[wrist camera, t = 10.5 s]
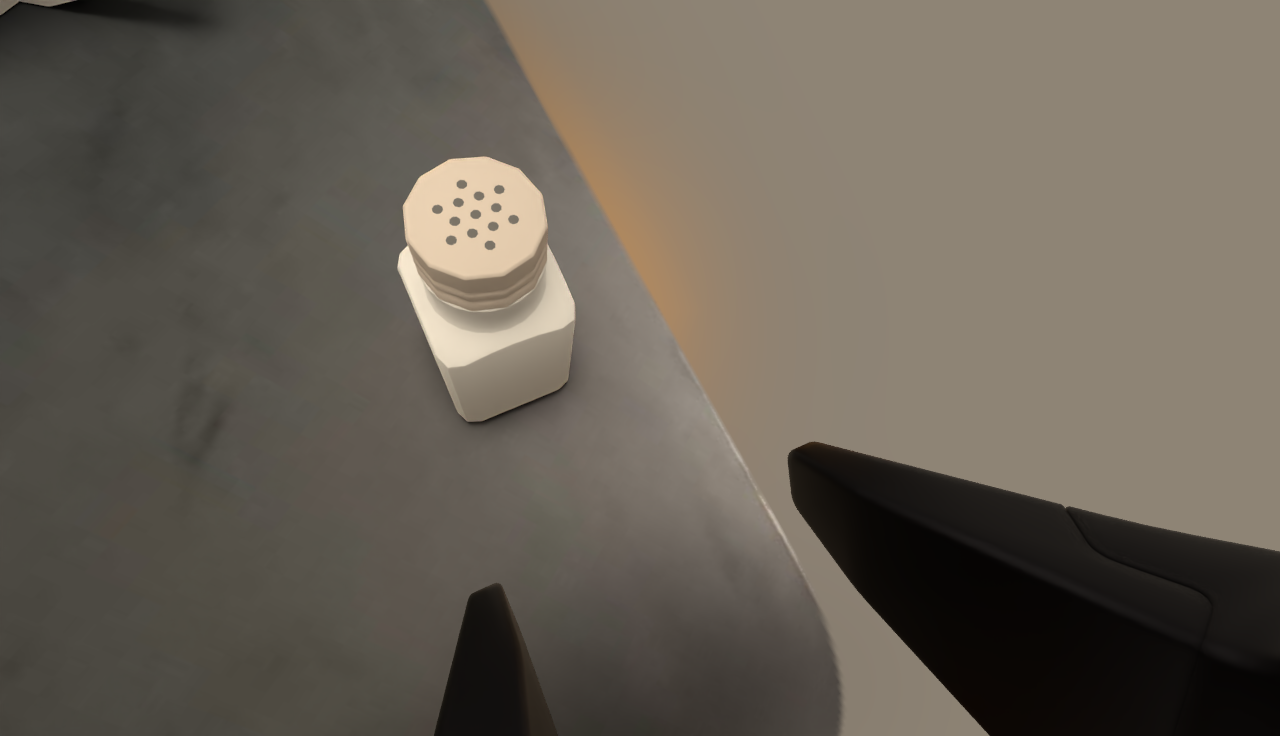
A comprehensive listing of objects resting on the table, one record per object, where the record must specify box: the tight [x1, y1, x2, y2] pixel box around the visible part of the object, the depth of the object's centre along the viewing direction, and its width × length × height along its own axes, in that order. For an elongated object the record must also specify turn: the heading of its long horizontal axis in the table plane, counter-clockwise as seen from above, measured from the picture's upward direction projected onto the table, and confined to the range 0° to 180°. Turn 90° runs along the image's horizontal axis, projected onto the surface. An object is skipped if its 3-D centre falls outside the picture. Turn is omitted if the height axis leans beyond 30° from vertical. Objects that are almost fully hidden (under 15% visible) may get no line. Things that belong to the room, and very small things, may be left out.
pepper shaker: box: [398, 157, 575, 422], centre depth 20 cm, size 4×4×10 cm
